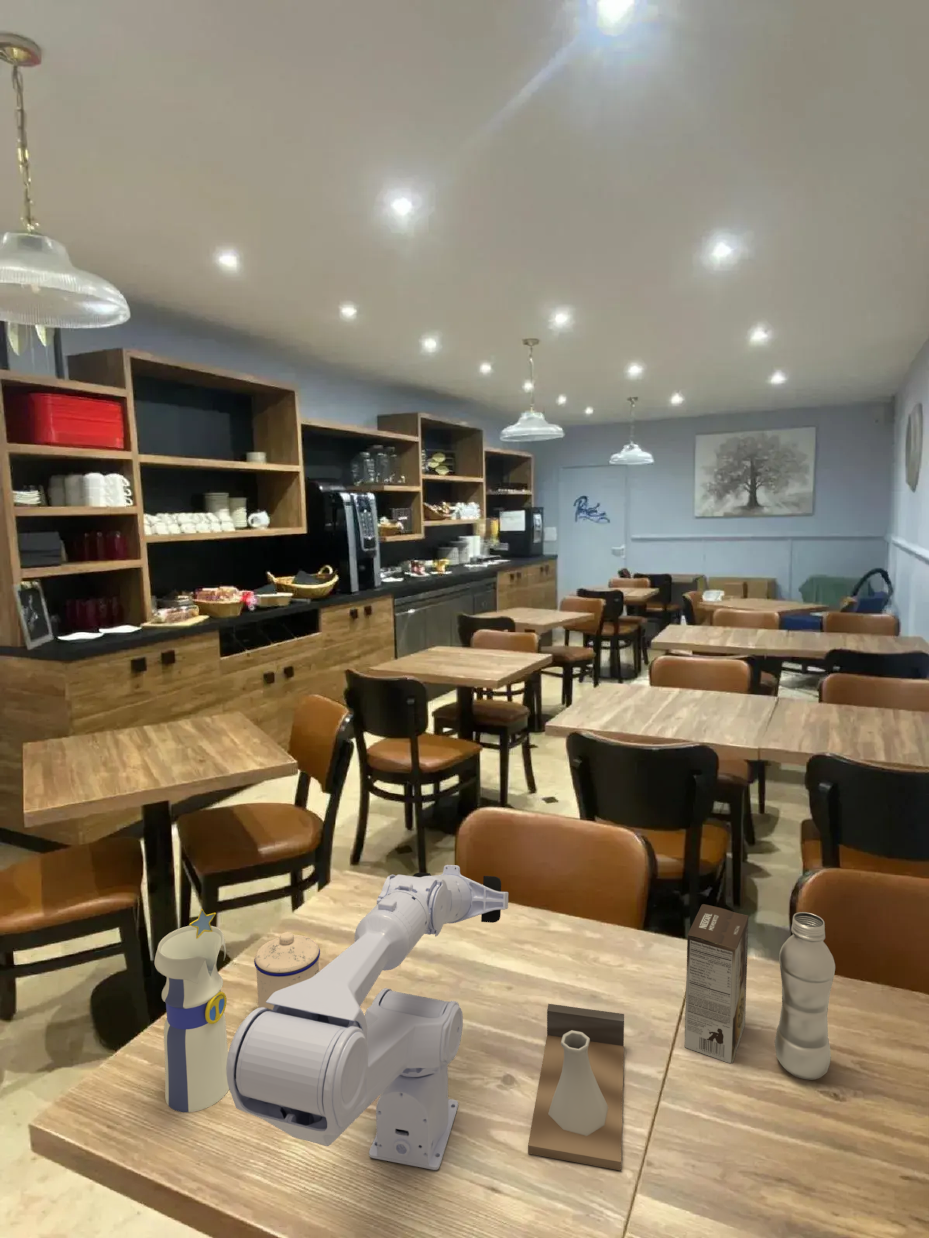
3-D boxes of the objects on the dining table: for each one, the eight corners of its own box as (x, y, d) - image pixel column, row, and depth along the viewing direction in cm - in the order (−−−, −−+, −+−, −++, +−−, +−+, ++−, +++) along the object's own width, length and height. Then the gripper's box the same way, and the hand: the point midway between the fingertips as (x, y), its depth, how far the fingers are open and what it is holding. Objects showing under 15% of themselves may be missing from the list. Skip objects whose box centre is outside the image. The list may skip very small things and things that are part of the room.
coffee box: (698, 1008, 104) (701, 901, 102) (746, 1024, 101) (750, 913, 99) (682, 1047, 96) (685, 933, 94) (733, 1065, 93) (737, 947, 91)
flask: (566, 1085, 90) (563, 1010, 89) (620, 1112, 85) (618, 1033, 84) (535, 1124, 84) (531, 1045, 83) (591, 1155, 80) (588, 1072, 79)
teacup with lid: (313, 1033, 100) (309, 953, 99) (247, 1031, 100) (243, 952, 99) (333, 979, 112) (330, 908, 110) (274, 978, 112) (271, 907, 111)
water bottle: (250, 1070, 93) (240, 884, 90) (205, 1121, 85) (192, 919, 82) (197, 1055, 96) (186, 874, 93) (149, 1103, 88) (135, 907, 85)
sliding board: (620, 1170, 78) (621, 1132, 77) (527, 1153, 80) (527, 1116, 80) (623, 1045, 97) (624, 1013, 96) (548, 1034, 99) (548, 1003, 99)
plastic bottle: (823, 1054, 95) (831, 909, 92) (835, 1092, 88) (843, 937, 86) (770, 1045, 97) (776, 902, 94) (777, 1082, 90) (784, 930, 88)
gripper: (497, 867, 89) (520, 866, 101) (386, 862, 93) (421, 862, 105) (496, 930, 87) (519, 921, 99) (382, 922, 91) (419, 914, 103)
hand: (469, 894), depth 102 cm, fingers open, 7 cm apart
